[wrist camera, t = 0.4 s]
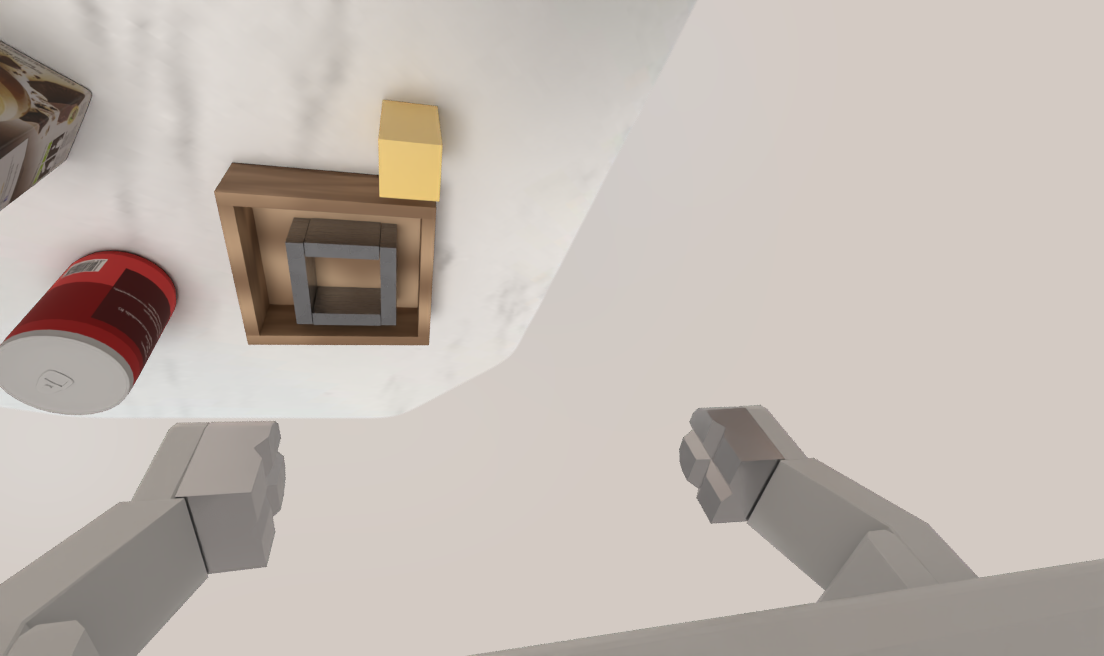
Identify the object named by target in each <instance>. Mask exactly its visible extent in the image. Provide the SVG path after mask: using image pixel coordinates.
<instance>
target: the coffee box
mask: <svg viewBox="0 0 1104 656" xmlns="http://www.w3.org/2000/svg"><path fill="white" fill-rule="evenodd" d="M90 99H91V93H90V91H89V90H87V89H86V88H84V87H82V86H80V85H79V84H77V83H75V82H73V81H71V80H69V79H68V78H66V77H64V76H62V75H60V74H58V73H57V72H55V71H53V70H51V69H49V68H48V67H46V66H44V65H42V64H40V63H38V62H37V61H35V60H33V59H31V58H29V57H28V56H26V55H24V54H22V53H20V52H19V51H17V50H15V49H13V48H11V47H9V46H8V45H6V44H4V43H2V42H0V211H1V210H2V209H3V208H5V207H6V206H7V205H8V204H10V203H11V202H12V201H14V200H15V199H16V198H18V197H19V196H20V195H22V194H23V193H24V192H25V191H27V190H28V189H29V188H31V187H32V186H34V185H35V184H36V183H37V182H39V181H40V180H41V179H42V178H44V177H45V176H46V175H48V174H49V173H50V172H52V171H53V170H54V169H55V168H57V167H58V166H59V165H61V164H62V163H63V162H64V161H65V160H66V158H67V156H68V154H69V151H70V149H71V146H72V144H73V142H74V139H75V137H76V134H77V132H78V130H79V127H80V125H81V122H82V120H83V118H84V115H85V112H86V110H87V107H88V104H89V102H90Z"/></svg>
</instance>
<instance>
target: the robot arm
mask: <svg viewBox="0 0 1104 656" xmlns="http://www.w3.org/2000/svg"><path fill="white" fill-rule="evenodd" d="M690 424H691V427H692V428H693V430H691V431H690V432H689V433H688V434H687V435H686V436H684V437H683V440H682V443H681V446H680V449H679V450H680V451H679V452H680V464H681V468H682V471H683V473H684V475H685V477H686V479H687V481H689V482H690V483H691V484H693V485H694V486H696V487H697V488H698V493H697V499H698V501H699V503H700V504H701V506H702V508H703V510H704V512H705V514H706V515H707V517H708V519H709V521H710V523H711V524H712V523H727V522H742V521H748V522H747V524H748V525H750V526H751V527H752V528H753V529H754V530H755V531H757V532H758V533H759V534H760V535H761V536H762V537H763V538H765V539H766V540H767V541H768V542H769V543H771V544H772V545H773V546H774V547H775V548H776V549H778V550H779V551H780V552H781V553H782V554H783V555H785V556H786V557H787V558H788V559H789V560H790V561H791V562H793V563H794V564H795V565H796V566H797V567H798V568H800V569H801V570H802V571H803V572H804V573H806V574H807V575H808V576H809V577H810V578H811V579H812V580H814V581H815V582H816V583H817V584H818V585H819V586H821V587H822V588H823V589H824V590H825V591H824V593H823V594H822V596H821V597H820V598H819V600H818V601H817V602H816V603H810V604H804V605H798V606H790V607H784V608H777V609H771V610H764V611H757V612H751V613H744V614H738V615H732V616H725V617H719V618H711V619H705V620H699V621H692V622H685V623H679V624H672V625H666V626H659V627H653V628H646V629H639V630H633V631H626V632H620V633H614V634H607V635H600V636H594V637H587V638H581V639H574V640H568V641H561V642H555V643H548V644H541V645H535V646H528V647H522V648H515V649H508V650H502V651H495V652H489V653H482V654H476V655H469V656H1104V559H1099V560H1093V561H1086V562H1079V563H1073V564H1066V565H1060V566H1053V567H1047V568H1040V569H1033V570H1027V571H1021V572H1014V573H1007V574H1001V575H994V576H987V577H981V578H979V577H978V576H977V575H976V574H975V573H974V572H973V571H972V570H971V569H970V568H969V567H968V566H967V565H966V564H965V562H963V560H962V559H961V558H960V557H959V556H958V555H957V554H956V553H955V552H954V551H953V550H952V549H951V548H950V547H949V545H947V543H946V542H945V541H944V540H943V539H942V538H941V537H940V536H939V535H938V534H937V533H936V532H935V531H934V529H932V527H931V526H930V525H929V524H928V523H926V522H924V521H922V520H921V519H919V518H917V517H916V516H914V515H912V514H910V513H909V512H907V511H905V510H903V509H902V508H900V507H898V506H897V505H895V504H893V503H891V502H890V501H888V500H886V499H884V498H883V497H881V496H879V495H877V494H875V493H874V492H872V491H870V490H869V489H867V488H865V487H863V486H861V485H860V484H858V483H857V482H855V481H853V480H851V479H849V478H848V477H846V476H844V475H843V474H841V473H839V472H837V471H836V470H834V469H832V468H830V467H829V466H827V465H825V464H824V463H822V462H820V461H818V460H816V459H815V458H807V457H806V455H805V454H804V453H803V452H802V451H801V449H800V448H799V447H798V446H797V444H796V443H795V442H794V441H793V440H792V438H791V437H790V436H789V435H788V434H787V432H786V431H785V430H784V429H783V428H782V427H781V425H780V424H779V423H778V421H777V420H776V419H775V418H774V417H773V415H772V414H771V413H770V412H769V411H768V410H767V409H766V408H765V407H763V406H761V405H754V406H739V407H714V408H698V409H697V410H696V411H695V412H694V413H693V414H692V417H691V419H690ZM280 439H281V435H280V430H279V425H278V423H277V422H276V421H249V422H248V421H242V422H211V423H176V424H175V425H174V426H172V427H171V428H170V429H169V430H168V432H167V434H166V436H165V438H164V440H163V442H162V443H161V446H160V447H159V449H158V451H157V453H156V455H155V457H154V459H153V460H152V462H151V464H150V466H149V468H148V470H147V472H146V474H145V475H144V478H143V479H142V481H141V483H140V485H139V487H138V489H137V490H136V493H135V494H134V496H133V498H132V500H131V501H129V502H119V503H118V504H116V505H115V506H113V507H112V508H110V509H109V510H107V511H106V512H105V513H103V514H102V515H100V516H99V517H97V518H96V519H94V520H93V521H91V522H90V523H89V524H87V525H86V526H85V527H83V528H82V529H80V530H78V531H77V532H76V533H74V534H73V535H71V536H70V537H68V538H67V539H66V540H64V541H63V542H61V543H60V544H58V545H57V546H55V547H54V548H53V549H51V550H50V551H48V552H47V553H45V554H44V555H42V556H41V557H39V558H38V559H36V560H35V561H34V562H32V563H31V564H30V565H28V566H26V567H25V568H23V569H22V570H21V571H19V572H18V573H16V574H15V575H13V576H12V577H10V578H9V579H7V580H6V581H5V582H3V583H2V584H0V656H137V654H138V653H139V652H140V651H141V650H142V649H143V648H144V647H145V646H146V645H147V644H148V642H149V641H150V640H151V639H152V638H153V637H154V636H155V635H156V634H157V633H158V631H159V630H160V629H161V628H162V627H163V626H164V625H165V624H166V623H167V622H168V620H169V619H170V618H171V617H172V616H173V615H174V614H175V613H176V612H177V611H178V609H180V607H181V606H182V605H183V604H184V603H185V602H186V601H187V600H188V599H189V597H191V595H192V594H193V593H194V592H195V591H196V590H197V589H198V588H199V587H200V586H201V584H202V583H203V582H204V581H205V580H206V579H207V578H208V574H212V573H220V572H228V571H236V570H245V569H253V568H261V567H267V563H268V559H269V555H270V551H271V547H272V543H273V539H274V534H275V528H274V522H273V516H274V515H275V514H277V512H279V511H280V509H281V505H282V501H283V496H284V487H285V463H284V456H283V455H281V454H280V453H279V452H278V447H279V443H280Z"/></svg>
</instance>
